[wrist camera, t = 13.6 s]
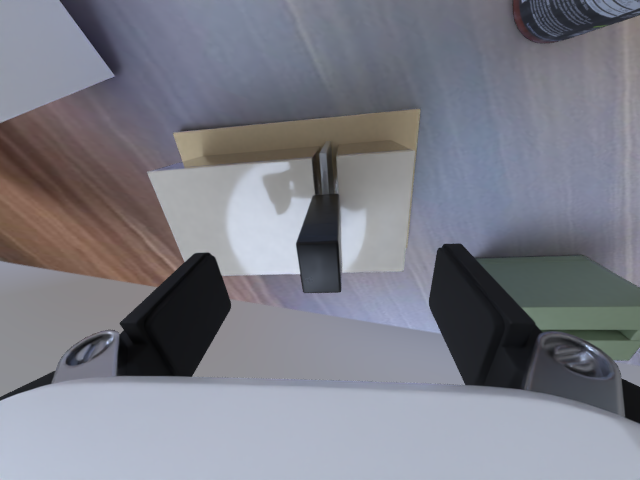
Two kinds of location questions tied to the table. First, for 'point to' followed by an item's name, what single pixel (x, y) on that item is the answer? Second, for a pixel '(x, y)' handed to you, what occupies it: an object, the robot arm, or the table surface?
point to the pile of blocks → (43, 56)
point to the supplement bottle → (569, 17)
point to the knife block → (573, 299)
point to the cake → (292, 190)
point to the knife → (321, 235)
